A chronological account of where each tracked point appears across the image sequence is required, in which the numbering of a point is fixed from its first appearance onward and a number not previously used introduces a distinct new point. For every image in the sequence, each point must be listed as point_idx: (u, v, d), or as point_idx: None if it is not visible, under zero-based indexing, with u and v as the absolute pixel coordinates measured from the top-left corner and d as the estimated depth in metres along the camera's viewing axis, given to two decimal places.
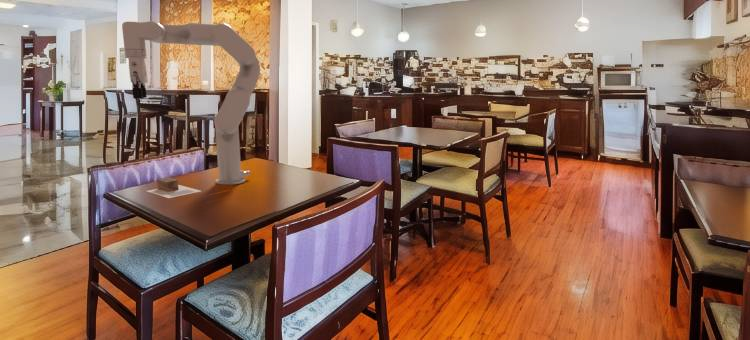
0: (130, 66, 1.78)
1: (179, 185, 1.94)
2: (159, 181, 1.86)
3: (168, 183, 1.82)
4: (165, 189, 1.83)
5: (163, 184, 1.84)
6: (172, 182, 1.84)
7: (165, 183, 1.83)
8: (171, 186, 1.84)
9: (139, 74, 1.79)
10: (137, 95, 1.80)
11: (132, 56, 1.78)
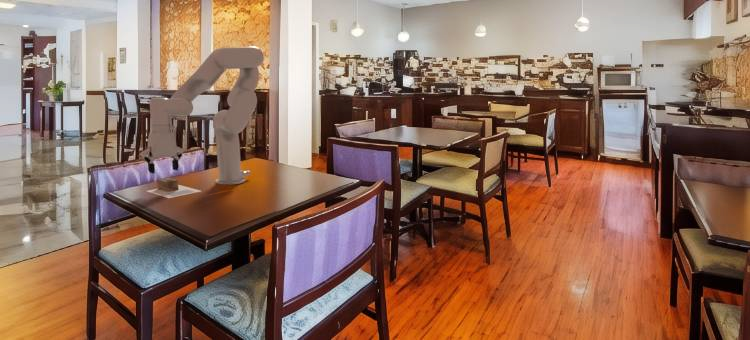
0: (175, 140, 1.85)
1: (179, 185, 1.94)
2: (159, 181, 1.86)
3: (168, 183, 1.82)
4: (165, 189, 1.83)
5: (163, 184, 1.84)
6: (172, 182, 1.84)
7: (165, 183, 1.83)
8: (171, 186, 1.84)
9: None
10: None
11: None
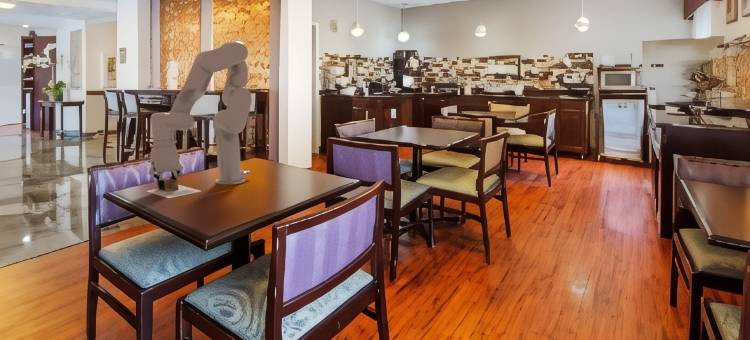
0: (177, 154, 1.87)
1: (179, 185, 1.94)
2: None
3: (168, 183, 1.82)
4: (165, 189, 1.83)
5: None
6: (172, 182, 1.84)
7: (165, 183, 1.83)
8: (171, 186, 1.84)
9: None
10: None
11: None
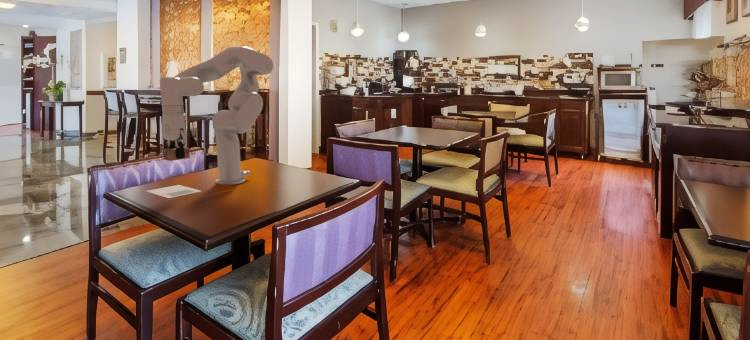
0: None
1: (179, 185, 1.94)
2: (174, 151, 1.75)
3: None
4: (185, 156, 1.78)
5: None
6: None
7: (186, 150, 1.78)
8: None
9: None
10: None
11: None
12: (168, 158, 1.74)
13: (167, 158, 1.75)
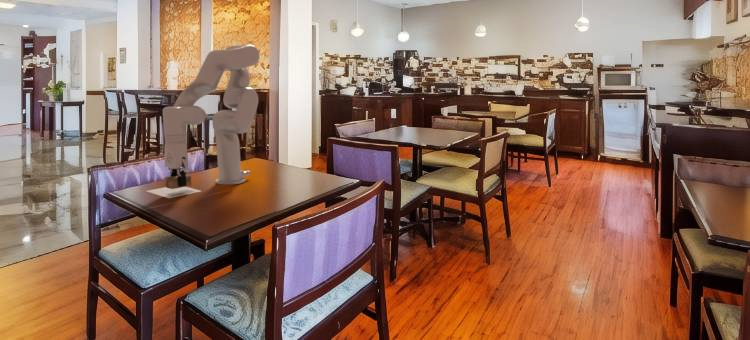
0: None
1: None
2: (176, 179, 1.77)
3: None
4: (187, 184, 1.80)
5: None
6: None
7: (187, 178, 1.80)
8: None
9: None
10: None
11: None
12: (170, 186, 1.76)
13: (169, 186, 1.77)
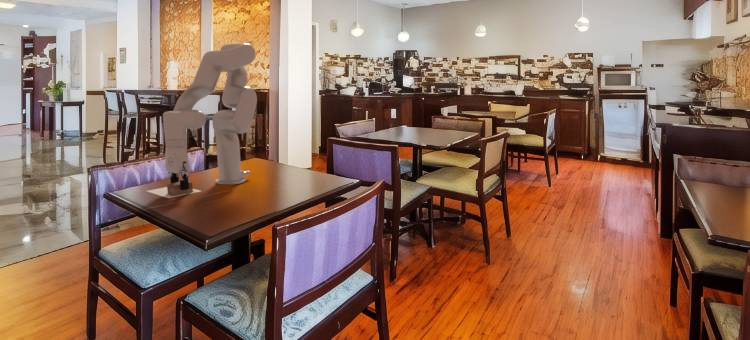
0: None
1: None
2: (177, 186, 1.77)
3: None
4: (188, 190, 1.81)
5: None
6: None
7: (189, 184, 1.81)
8: None
9: None
10: None
11: None
12: (171, 193, 1.77)
13: (170, 193, 1.78)
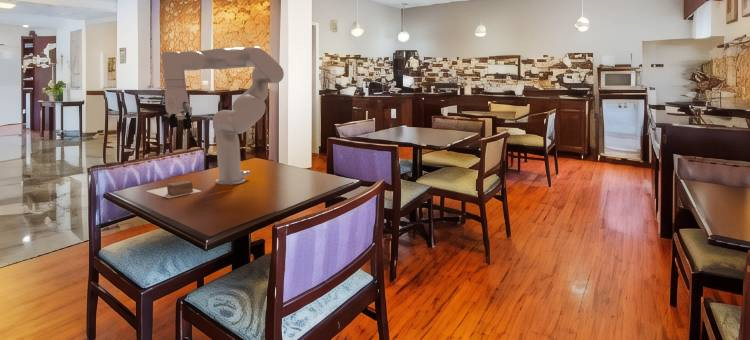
0: None
1: None
2: (177, 186, 1.77)
3: None
4: (188, 190, 1.81)
5: (185, 186, 1.80)
6: None
7: (189, 184, 1.81)
8: None
9: None
10: None
11: None
12: (171, 193, 1.77)
13: (170, 193, 1.78)
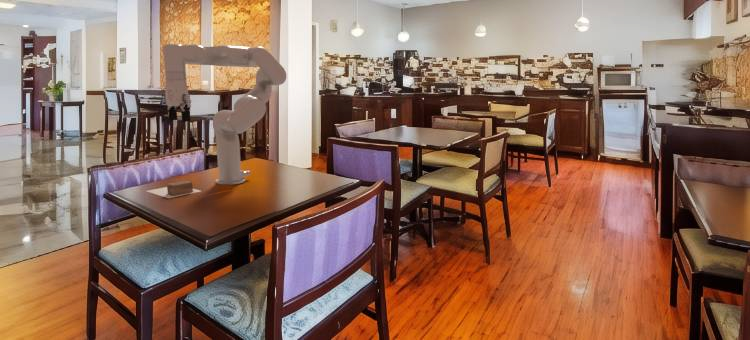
0: None
1: None
2: (177, 186, 1.77)
3: None
4: (188, 190, 1.81)
5: (185, 186, 1.80)
6: None
7: (189, 184, 1.81)
8: None
9: None
10: None
11: None
12: (171, 193, 1.77)
13: (170, 193, 1.78)
